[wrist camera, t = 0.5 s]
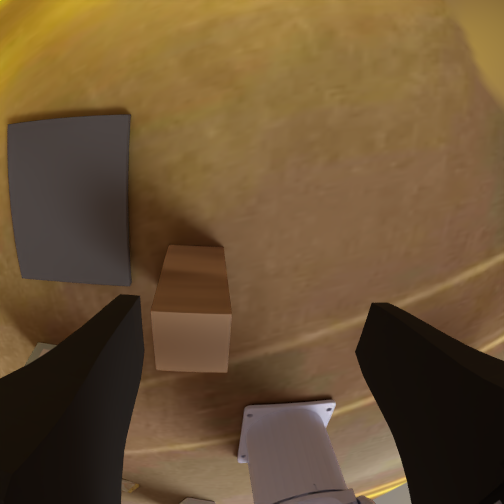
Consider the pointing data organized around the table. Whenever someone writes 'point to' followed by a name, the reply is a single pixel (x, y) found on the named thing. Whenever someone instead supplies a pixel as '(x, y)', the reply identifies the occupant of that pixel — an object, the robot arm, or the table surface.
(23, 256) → the mat
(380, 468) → the table surface
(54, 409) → the robot arm
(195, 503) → the skincare box
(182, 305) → the oak push block
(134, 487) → the snack bar
